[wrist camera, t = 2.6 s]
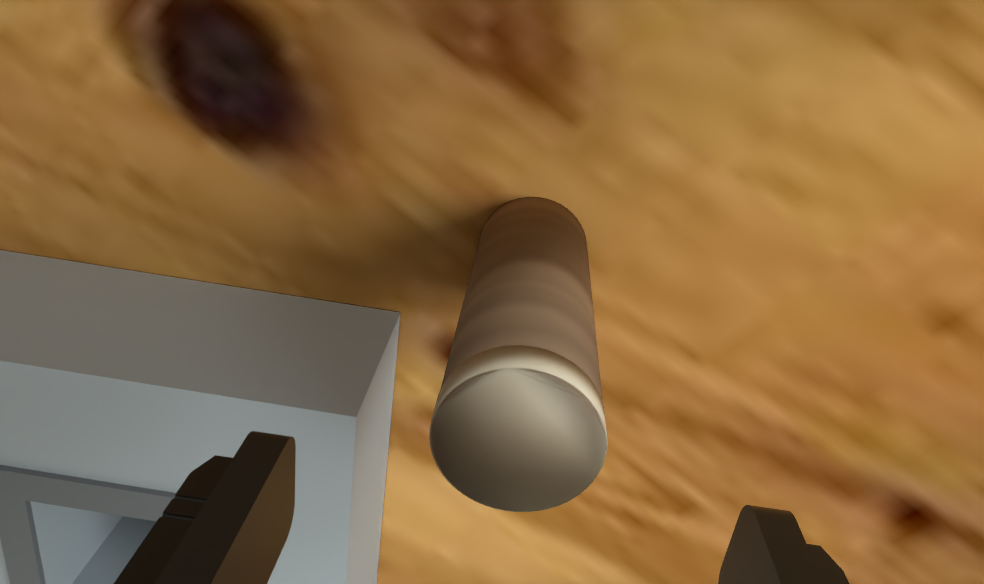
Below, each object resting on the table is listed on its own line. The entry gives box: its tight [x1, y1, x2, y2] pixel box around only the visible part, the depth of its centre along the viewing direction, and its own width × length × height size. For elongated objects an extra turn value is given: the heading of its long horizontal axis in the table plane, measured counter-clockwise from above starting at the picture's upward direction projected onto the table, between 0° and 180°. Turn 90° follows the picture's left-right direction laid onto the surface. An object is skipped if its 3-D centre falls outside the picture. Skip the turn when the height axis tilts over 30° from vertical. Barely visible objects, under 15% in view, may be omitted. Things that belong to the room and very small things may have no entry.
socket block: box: [0, 250, 400, 584], centre depth 25 cm, size 14×14×6 cm
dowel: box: [430, 197, 607, 512], centre depth 19 cm, size 3×3×10 cm
